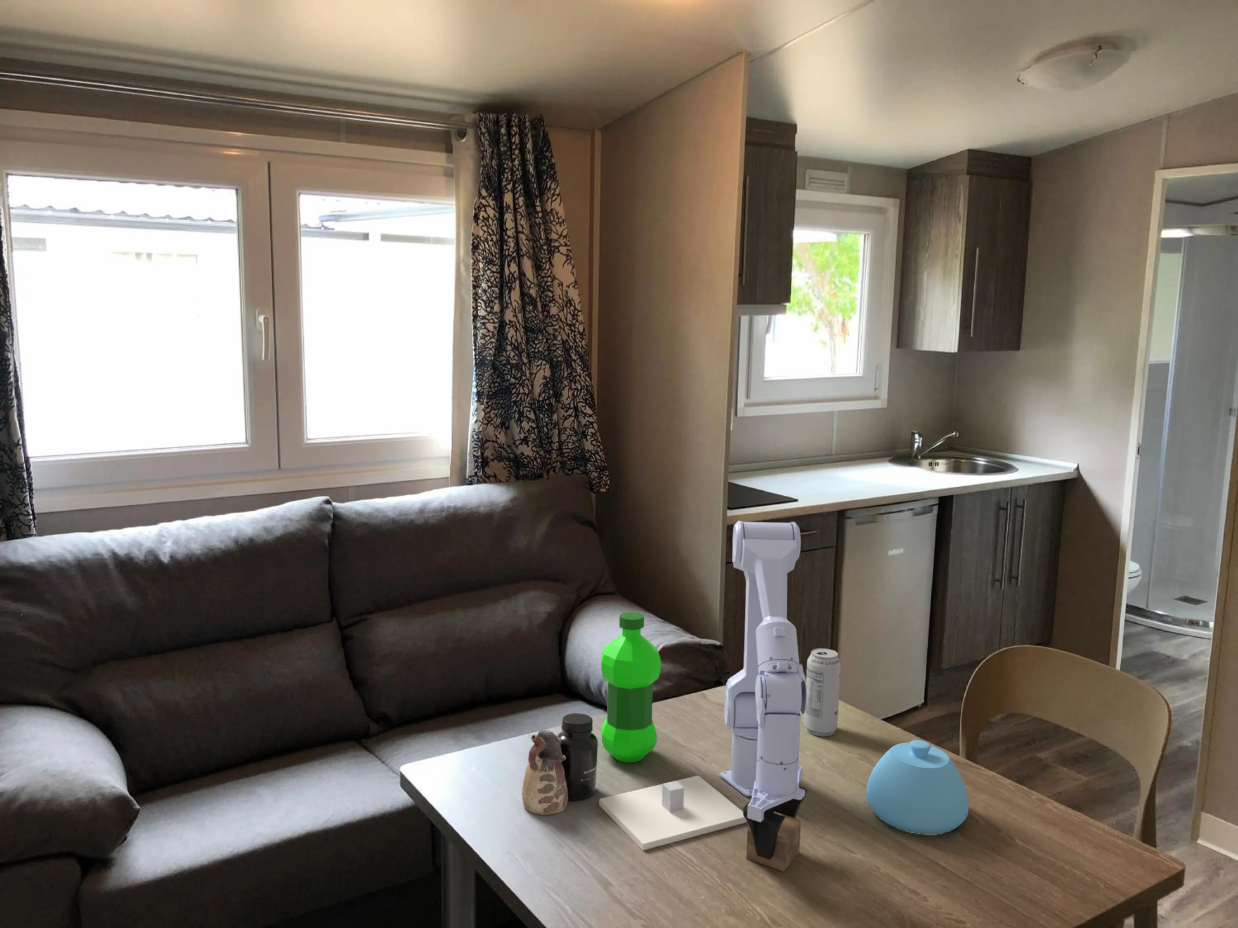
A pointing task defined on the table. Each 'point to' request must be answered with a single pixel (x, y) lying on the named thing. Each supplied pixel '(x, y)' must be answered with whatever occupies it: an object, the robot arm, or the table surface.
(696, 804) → the board
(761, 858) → the walnut knob
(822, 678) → the energy drink can
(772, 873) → the table surface
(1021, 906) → the table surface
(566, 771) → the supplement bottle
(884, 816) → the sugar bowl
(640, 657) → the plastic bottle
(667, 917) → the table surface
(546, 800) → the figurine
